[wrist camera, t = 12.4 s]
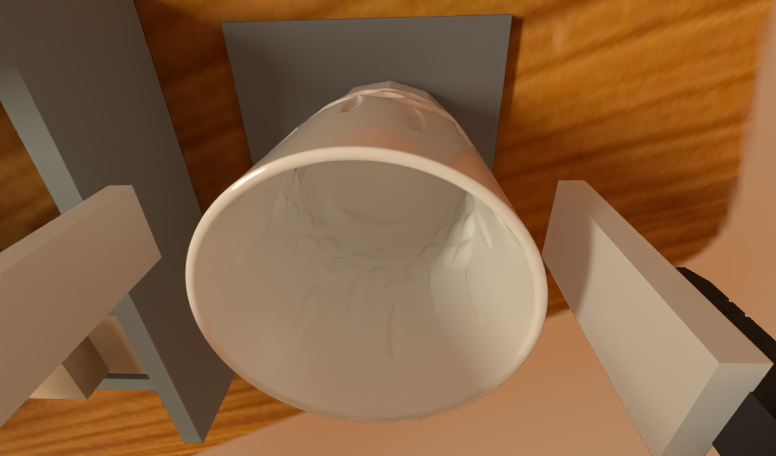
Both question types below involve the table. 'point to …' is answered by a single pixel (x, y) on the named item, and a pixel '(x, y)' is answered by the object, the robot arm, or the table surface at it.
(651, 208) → the table surface
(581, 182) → the robot arm
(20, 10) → the rack
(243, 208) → the white cup
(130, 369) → the block
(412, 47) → the mat
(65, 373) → the upper offcut
